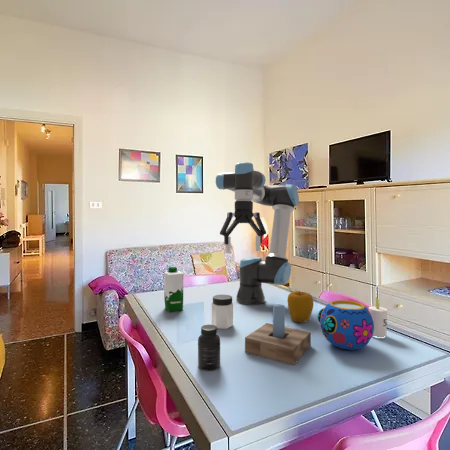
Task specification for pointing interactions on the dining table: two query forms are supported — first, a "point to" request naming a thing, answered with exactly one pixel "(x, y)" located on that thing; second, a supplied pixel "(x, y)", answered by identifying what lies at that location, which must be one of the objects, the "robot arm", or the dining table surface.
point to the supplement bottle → (209, 348)
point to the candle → (379, 319)
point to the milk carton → (173, 289)
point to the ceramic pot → (346, 324)
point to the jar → (222, 311)
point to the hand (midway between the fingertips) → (243, 251)
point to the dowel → (279, 321)
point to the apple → (300, 306)
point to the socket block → (278, 344)
